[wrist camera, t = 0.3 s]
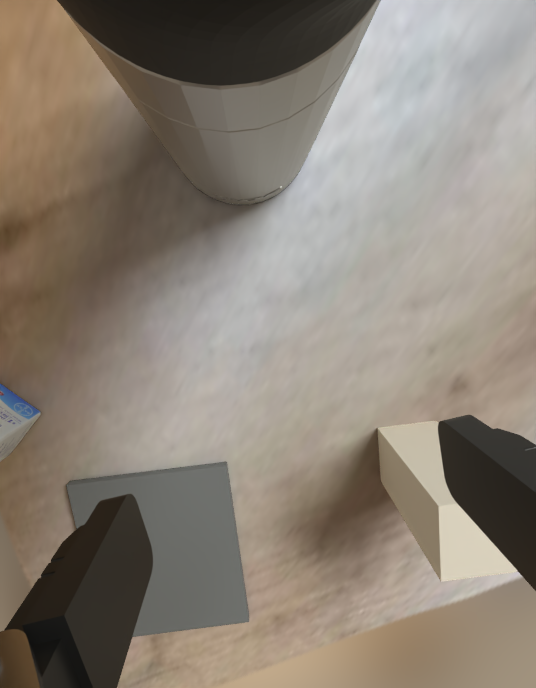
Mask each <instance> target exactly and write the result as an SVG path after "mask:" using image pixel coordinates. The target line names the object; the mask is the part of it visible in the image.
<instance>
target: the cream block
mask: <svg viewBox="0 0 536 688" xmlns="http://www.w3.org/2000/svg"><path fill="white" fill-rule="evenodd" d="M438 424H439V423H438V422H436V421H429V422H421V423H413V424H404V425H396V426H388V427H380V428H377V429H378V445H379V461H380V477H381V482H382V484H383V486H384V487H385V489H386V491H387V492H388V494H389V496H390V497H391V499H392V501H393V502H394V504H395V506H396V507H397V509H398V511H399V512H400V514H401V516H402V517H403V519H404V521H405V522H406V524H407V526H408V527H409V529H410V531H411V532H412V534H413V536H414V537H415V539H416V541H417V542H418V544H419V546H420V547H421V549H422V551H423V552H424V554H425V556H426V557H427V559H428V561H429V562H430V564H431V566H432V567H433V569H434V571H435V572H436V574H437V576H438V577H439V579H440V581H441V582H442V581H450V580H458V579H465V578H473V577H481V576H489V575H497V574H504V573H512V572H518V571H517V569H516V568H515V567H514V566H513V565H512V564H511V563H510V562H509V561H508V559H507V558H506V557H505V556H504V555H503V554H502V553H501V552H500V551H499V549H498V548H497V547H496V546H495V545H494V544H493V543H492V542H491V541H490V539H489V538H488V537H487V536H486V535H485V534H484V533H483V532H482V530H481V529H480V528H479V527H478V526H477V525H476V524H475V523H474V522H473V520H472V519H471V518H470V517H469V516H468V515H467V514H466V513H465V512H464V510H463V509H462V508H461V507H460V506H459V505H458V504H457V503H456V501H455V500H454V499H453V497H452V495H451V493H450V492H449V489H448V487H447V484H446V481H445V477H444V471H443V464H442V457H441V450H440V443H439V436H438Z"/></svg>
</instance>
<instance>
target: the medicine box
mask: <svg viewBox="0 0 536 688" xmlns="http://www.w3.org/2000/svg"><path fill="white" fill-rule="evenodd" d="M40 415H41V412H40V411H39V410H38V409H36V408H35V407H33V406H32V405H30V404H29V403H27V402H26V401H25V400H23V399H22V398H20V397H19V396H17V395H16V394H14V393H13V392H12V391H10V390H9V389H7V388H6V387H4V386H3V385H2V384H0V461H2V460H3V459H4V458H6V457H7V456H9V455H10V454H11V453H12V451H13V450H14V449H15V447H16V446H17V445H18V444H19V442H20V441H21V440H22V438H23V437H24V436H25V434H26V433H27V432H28V431H29V429H30V428H31V427H32V425H33V424H34V423H35V421H36V420H37V419H38V418H39V416H40Z"/></svg>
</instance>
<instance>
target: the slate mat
mask: <svg viewBox="0 0 536 688" xmlns="http://www.w3.org/2000/svg"><path fill="white" fill-rule="evenodd" d="M66 486H67V491H68V495H69V499H70V503H71V508H72V512H73V516H74V520H75V525H76V529H78V528H79V527H80V526H82V525H85V523H86V522H87V520H88V518H89V517H90V515H91V514H92V512H93V510H94V509H95V507H96V506H97V504H98V503H99V501H101V500H104V499H109V498H113V497H117V496H121V495H126V494H132V495H133V496H134V497H135V499H136V501H137V503H138V506H139V509H140V513H141V516H142V519H143V522H144V525H145V528H146V531H147V534H148V537H149V540H150V543H151V547H152V552H153V569H152V574H151V577H150V580H149V584H148V587H147V590H146V593H145V597H144V600H143V603H142V607H141V610H140V613H139V616H138V620H137V623H136V626H135V629H134V633H133V636H132V637H136V636H143V635H151V634H159V633H167V632H175V631H182V630H190V629H198V628H206V627H213V626H221V625H229V624H237V623H245V622H249V611H248V605H247V598H246V591H245V584H244V577H243V570H242V563H241V557H240V550H239V543H238V536H237V529H236V522H235V515H234V508H233V502H232V495H231V488H230V481H229V474H228V467H227V462H221V463H213V464H205V465H197V466H188V467H180V468H172V469H164V470H156V471H148V472H139V473H131V474H123V475H115V476H107V477H99V478H91V479H82V480H74V481H70V482H69V483H68V484H67V485H66Z"/></svg>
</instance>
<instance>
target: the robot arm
mask: <svg viewBox="0 0 536 688" xmlns="http://www.w3.org/2000/svg"><path fill="white" fill-rule="evenodd" d="M57 1H58V2H59V3H60V5H61V6H62V7H63V8H64V10H65V11H66V12H67V14H68V15H69V16H70V18H71V19H72V21H73V22H74V23H75V25H76V26H77V27H78V29H79V30H80V32H81V33H82V34H83V36H84V37H85V38H86V40H87V41H88V42H89V44H90V45H91V47H92V48H93V49H94V51H95V52H96V53H97V55H98V56H99V58H100V59H101V60H102V62H103V63H104V64H105V66H106V67H107V68H108V70H109V71H110V72H111V74H112V75H113V77H114V78H115V79H116V80H117V82H118V83H119V85H120V86H121V87H122V89H123V90H124V91H125V93H126V94H127V96H128V97H129V98H130V100H131V101H132V103H133V104H134V105H135V107H136V108H137V109H138V111H139V112H140V114H141V115H142V116H143V118H144V119H145V121H146V122H147V123H148V125H149V126H150V127H151V129H152V130H153V132H154V133H155V134H156V136H157V137H158V139H159V140H160V141H161V143H162V144H163V145H164V147H165V148H166V150H167V151H168V152H169V154H170V155H171V157H172V158H173V160H174V161H175V162H176V164H177V165H178V166H179V168H180V169H181V171H182V172H183V173H184V175H185V176H186V177H187V178H188V179H189V180H190V181H191V182H192V184H193V185H194V186H195V187H197V188H198V189H199V190H201V191H202V192H203V193H205V194H206V195H208V196H210V197H212V198H214V199H216V200H218V201H221V202H225V203H230V204H234V205H249V204H254V203H258V202H263V201H265V200H267V199H269V198H271V197H273V196H275V195H277V194H278V193H280V192H281V191H282V190H284V189H285V188H286V187H287V186H288V185H289V184H290V183H291V182H292V181H293V179H294V178H295V177H296V176H297V175H298V173H299V171H300V169H301V167H302V166H303V164H304V162H305V160H306V158H307V156H308V153H309V152H310V150H311V148H312V146H313V144H314V141H315V139H316V137H317V135H318V133H319V131H320V129H321V127H322V125H323V122H324V120H325V118H326V116H327V114H328V112H329V110H330V108H331V106H332V103H333V101H334V99H335V97H336V95H337V93H338V91H339V89H340V87H341V84H342V82H343V80H344V78H345V76H346V74H347V72H348V70H349V67H350V65H351V63H352V61H353V59H354V57H355V55H356V53H357V50H358V48H359V46H360V43H361V41H362V39H363V37H364V35H365V33H366V30H367V28H368V26H369V24H370V22H371V20H372V18H373V16H374V13H375V11H376V9H377V7H378V5H379V3H380V1H381V0H57ZM438 436H439V443H440V450H441V457H442V464H443V471H444V477H445V481H446V484H447V487H448V489H449V492H450V493H451V495H452V497H453V499H454V500H455V501H456V503H457V504H458V505H459V506H460V507H461V508H462V509H463V510H464V512H465V513H466V514H467V515H468V516H469V517H470V518H471V519H472V520H473V522H474V523H475V524H476V525H477V526H478V527H479V528H480V529H481V530H482V532H483V533H484V534H485V535H486V536H487V537H488V538H489V539H490V541H491V542H492V543H493V544H494V545H495V546H496V547H497V548H498V549H499V551H500V552H501V553H502V554H503V555H504V556H505V557H506V558H507V559H508V561H509V562H510V563H511V564H512V565H513V566H514V567H515V568H516V569H517V571H518V572H519V573H520V574H521V575H522V576H523V577H524V578H525V580H526V581H527V582H528V583H529V584H530V585H531V586H532V587H533V588H534V589H535V590H536V445H535V444H533V443H532V442H530V441H529V440H527V439H525V438H524V437H522V436H520V435H517V434H514V433H511V432H508V431H504V430H501V429H498V428H497V429H492V428H490V427H489V426H487V425H486V424H484V423H483V422H481V421H480V420H478V419H477V418H475V417H473V416H472V415H465V416H461V417H456V418H452V419H448V420H444V421H440V422H439V424H438ZM152 569H153V552H152V547H151V543H150V540H149V537H148V534H147V531H146V528H145V525H144V522H143V519H142V516H141V513H140V509H139V506H138V503H137V501H136V499H135V497H134V496H133V495H132V494H126V495H121V496H117V497H113V498H109V499H104V500H101V501H99V503H98V504H97V506H96V507H95V509H94V510H93V512H92V514H91V515H90V517H89V518H88V520H87V522H86V523H85V525H82V526H80V527H79V528H78V529H77V530H75V531H74V532H73V533H72V534H71V535H70V536H69V537H68V538H67V539H66V540H65V541H64V542H63V543H62V544H61V546H60V547H59V549H58V550H57V552H56V553H55V555H54V556H53V558H52V559H51V563H49V564H48V565H47V567H46V568H45V570H44V571H43V573H42V574H41V578H39V579H38V580H37V582H36V583H35V585H34V586H33V588H32V589H31V591H30V592H29V594H28V595H27V597H26V598H25V600H24V601H23V603H22V604H21V606H20V607H19V609H18V610H17V612H16V613H15V615H14V616H13V618H12V619H11V621H10V622H9V624H8V626H7V627H6V628H5V630H4V631H1V632H0V688H117V685H118V682H119V678H120V675H121V672H122V669H123V665H124V662H125V659H126V656H127V652H128V649H129V646H130V643H131V639H132V636H133V633H134V629H135V626H136V623H137V620H138V616H139V613H140V610H141V607H142V603H143V600H144V597H145V593H146V590H147V587H148V584H149V580H150V577H151V574H152Z"/></svg>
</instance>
